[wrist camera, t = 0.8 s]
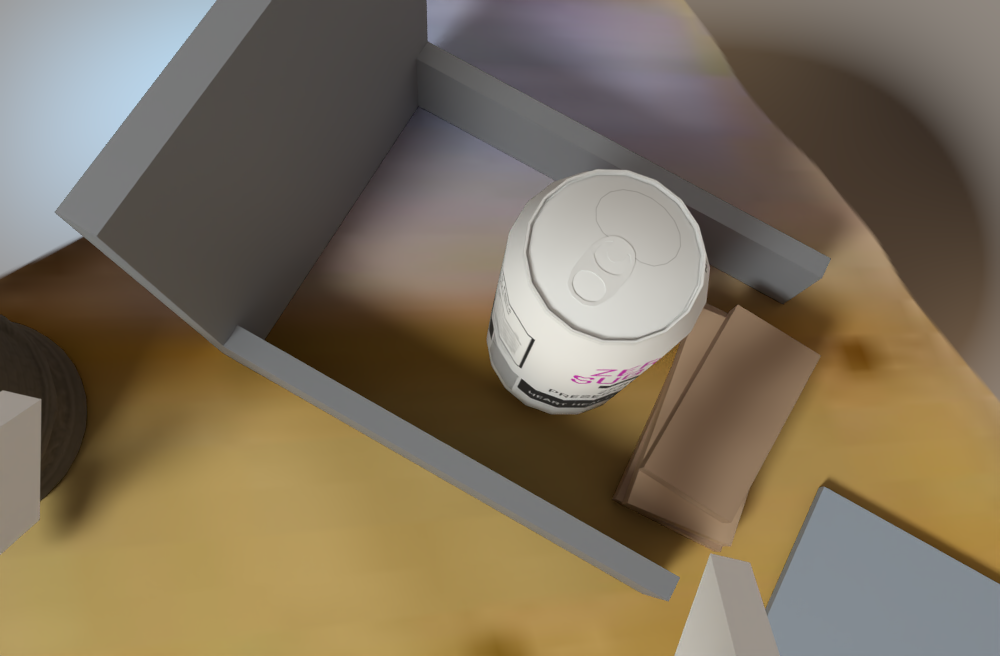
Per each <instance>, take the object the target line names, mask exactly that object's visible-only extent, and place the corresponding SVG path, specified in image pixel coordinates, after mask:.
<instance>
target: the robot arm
mask: <svg viewBox="0 0 1000 656" xmlns="http://www.w3.org/2000/svg"><path fill="white" fill-rule="evenodd" d="M40 461H41V399H38V398H34V397H30V396H25V395H21V394H16V393H12V392H8V391H1V392H0V555H1V554H2V553H3V552H4V551H5V550H6V549H7V548H8V547H9V546H11V545H12V544H13V543H14V542H15V541H16V540H17V539H18V538H20V537H21V536H22V535H23V534H24V533H25V532H26V531H27V530H29V529H30V528H31V527H32V526H33V525H34V524H35V523H36V522H37V521H39V520H40ZM675 656H780V654H779V651H778V648H777V645H776V642H775V639H774V636H773V633H772V629H771V626H770V623H769V620H768V617H767V614H766V611H765V608H764V605H763V602H762V598H761V595H760V592H759V589H758V586H757V583H756V580H755V577H754V574H753V570H752V567H751V564H750V563H749V562H745V561H741V560H736V559H732V558H728V557H723V556H719V555H715V554H710V556H709V559H708V562H707V565H706V567H705V570H704V573H703V576H702V579H701V582H700V584H699V587H698V590H697V593H696V596H695V599H694V602H693V604H692V607H691V610H690V613H689V616H688V619H687V622H686V624H685V627H684V630H683V633H682V636H681V639H680V641H679V644H678V647H677V650H676V653H675Z"/></svg>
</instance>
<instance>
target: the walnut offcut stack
mask: <svg viewBox="0 0 1000 656" xmlns="http://www.w3.org/2000/svg"><path fill="white" fill-rule="evenodd" d="M820 357H821V355H819V354H818V353H816V352H814V351H813V350H811V349H809V348H808V347H806V346H805V345H803V344H801V343H800V342H798V341H796V340H795V339H793V338H792V337H790V336H788V335H787V334H785V333H783V332H782V331H780V330H779V329H777V328H775V327H774V326H772V325H770V324H769V323H767V322H766V321H764V320H762V319H761V318H759V317H757V316H756V315H754V314H753V313H751V312H749V311H748V310H746V309H744V308H743V307H741V306H740V305H736V306H735V307H734V308H733V309H731V310H730V311H729V313H726V312H724V311H722V310H720V309H718V308H716V307H714V306H712V305H710V304H708V303H706V304H705V305H704V307H703V309H702V311H701V313H700V315H699V317H698V319H697V321H696V323H695V325H694V327H693V329H692V331H691V332H690V333H689V334H688V335H687V336H686V337H685V338H683V339H682V340H681V342H680V345H679V348H678V350H677V353H676V356H675V359H674V361H673V364H672V367H671V369H670V371H669V374H668V376H667V378H666V380H665V382H664V385H663V387H662V389H661V391H660V394H659V396H658V398H657V400H656V403H655V405H654V407H653V409H652V411H651V414H650V416H649V418H648V420H647V423H646V425H645V427H644V429H643V432H642V434H641V436H640V438H639V441H638V443H637V445H636V447H635V449H634V452H633V454H632V456H631V458H630V461H629V463H628V465H627V467H626V470H625V472H624V474H623V476H622V478H621V481H620V483H619V485H618V487H617V490H616V492H615V494H614V496H613V499H612V500H614V501H616V502H618V503H620V504H622V505H624V506H626V507H628V508H630V509H632V510H634V511H636V512H638V513H639V514H641V515H643V516H645V517H647V518H649V519H651V520H653V521H655V522H657V523H659V524H661V525H663V526H665V527H667V528H669V529H671V530H673V531H675V532H677V533H679V534H681V535H683V536H685V537H687V538H689V539H691V540H693V541H695V542H697V543H699V544H701V545H703V546H705V547H707V548H709V549H711V550H713V551H716V552H721V549H722V547H723V546H731V545H732V541H733V538H734V535H735V532H736V529H737V526H738V523H739V520H740V517H741V514H742V510H743V507H744V504H745V501H746V498H747V495H748V492H749V489H750V487H751V485H752V483H753V481H754V480H755V478H756V476H757V474H758V472H759V470H760V468H761V467H762V465H763V463H764V461H765V459H766V457H767V455H768V453H769V452H770V450H771V448H772V446H773V444H774V442H775V440H776V439H777V437H778V435H779V433H780V431H781V429H782V427H783V426H784V424H785V422H786V420H787V418H788V416H789V414H790V413H791V411H792V409H793V407H794V405H795V403H796V401H797V400H798V398H799V396H800V394H801V392H802V390H803V388H804V386H805V385H806V383H807V381H808V379H809V377H810V375H811V373H812V372H813V370H814V368H815V366H816V364H817V362H818V360H819V359H820Z"/></svg>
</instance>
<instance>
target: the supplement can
mask: <svg viewBox="0 0 1000 656" xmlns="http://www.w3.org/2000/svg"><path fill="white" fill-rule="evenodd" d="M709 273H710V266H709V262H708V258H707V254H706V250H705V246H704V242H703V238H702V235H701V232H700V228H699V225H698V223H697V222H696V220H695V219H694V217H693V216H692V214H691V213H690V211H689V210H688V208H687V207H686V205H685V204H684V202H683V201H682V200H681V199H680V198H679V197H677V196H676V195H675V194H674V193H672V192H671V191H670V190H668V189H667V188H666V187H665V186H663V185H662V184H661V183H659V182H658V181H657V180H654V179H651V178H648V177H646V176H643V175H640V174H637V173H634V172H632V171H629V170H604V169H596V170H593V171H586V172H582V173H579V174H576V175H573V176H570V177H567V178H564V179H561V180H558V181H555V182H553V183H552V184H550V185H549V186H548V187H546V188H545V189H544V190H543V191H541V192H540V193H539V194H537V195H536V196H535V197H534V198H532V199H531V200H530V201H528V202H527V204H526V205H525V207H524V209H523V210H522V212H521V213H520V215H519V217H518V218H517V220H516V222H515V223H514V225H513V227H512V228H511V230H510V232H509V237H508V241H507V245H506V250H505V254H504V259H503V263H502V268H501V272H500V276H499V281H498V285H497V290H496V294H495V298H494V303H493V307H492V312H491V317H490V322H489V328H488V334H487V345H488V350H489V356H490V361H491V365H492V367H493V369H494V371H495V372H496V374H497V376H498V377H499V379H500V381H501V382H502V384H503V386H504V387H505V389H507V390H508V391H509V392H510V393H512V394H513V395H514V396H515V397H516V398H518V399H519V400H520V401H521V402H522V403H524V404H525V405H527V406H529V407H532V408H535V409H538V410H540V411H543V412H546V413H549V414H580V413H583V412H585V411H588V410H591V409H593V408H596V407H599V406H601V405H603V404H604V403H606V402H607V401H608V400H609V399H611V398H612V397H613V396H614V395H616V394H617V393H618V392H619V391H621V390H622V389H623V388H624V387H625V386H627V385H628V384H629V383H630V382H632V381H633V380H634V379H635V378H637V377H638V376H639V375H640V374H642V373H643V372H644V371H645V370H647V369H648V368H649V367H650V366H652V365H653V364H654V363H655V362H657V361H658V360H659V359H660V358H661V357H663V356H664V355H665V354H666V353H667V352H669V351H670V350H671V349H672V348H673V347H674V346H675V345H677V344H678V343H679V342H680V341H681V340H682V339H683V338H685V337H686V336H687V335H688V334H689V333H690V332H691V331H692V329H693V327H694V325H695V323H696V321H697V319H698V317H699V315H700V313H701V311H702V309H703V307H704V305H705V304H706V301H707V291H708V282H709Z"/></svg>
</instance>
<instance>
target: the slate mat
mask: <svg viewBox="0 0 1000 656" xmlns="http://www.w3.org/2000/svg"><path fill="white" fill-rule="evenodd" d="M765 611H766V614H767V617H768V620H769V623H770V626H771V629H772V633H773V636H774V639H775V642H776V645H777V648H778V651H779V654H780V656H1000V584H998V583H997V582H995V581H993V580H991V579H989V578H988V577H986V576H984V575H982V574H981V573H979V572H977V571H975V570H973V569H972V568H970V567H968V566H966V565H964V564H963V563H961V562H959V561H957V560H955V559H954V558H952V557H950V556H948V555H946V554H945V553H943V552H941V551H939V550H937V549H936V548H934V547H932V546H930V545H928V544H927V543H925V542H923V541H921V540H919V539H918V538H916V537H914V536H912V535H910V534H909V533H907V532H905V531H903V530H901V529H900V528H898V527H896V526H894V525H892V524H891V523H889V522H887V521H885V520H884V519H882V518H880V517H878V516H876V515H875V514H873V513H871V512H869V511H867V510H866V509H864V508H862V507H860V506H858V505H857V504H855V503H853V502H851V501H849V500H848V499H846V498H844V497H842V496H840V495H839V494H837V493H835V492H833V491H831V490H830V489H828V488H826V487H819V489H818V491H817V494H816V496H815V498H814V500H813V503H812V505H811V507H810V509H809V512H808V514H807V516H806V519H805V521H804V523H803V525H802V528H801V530H800V532H799V534H798V537H797V539H796V541H795V543H794V546H793V548H792V550H791V552H790V555H789V557H788V559H787V562H786V564H785V566H784V568H783V571H782V573H781V575H780V577H779V580H778V582H777V584H776V586H775V589H774V591H773V593H772V596H771V598H770V600H769V602H768V605H767V607H766V609H765Z"/></svg>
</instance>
